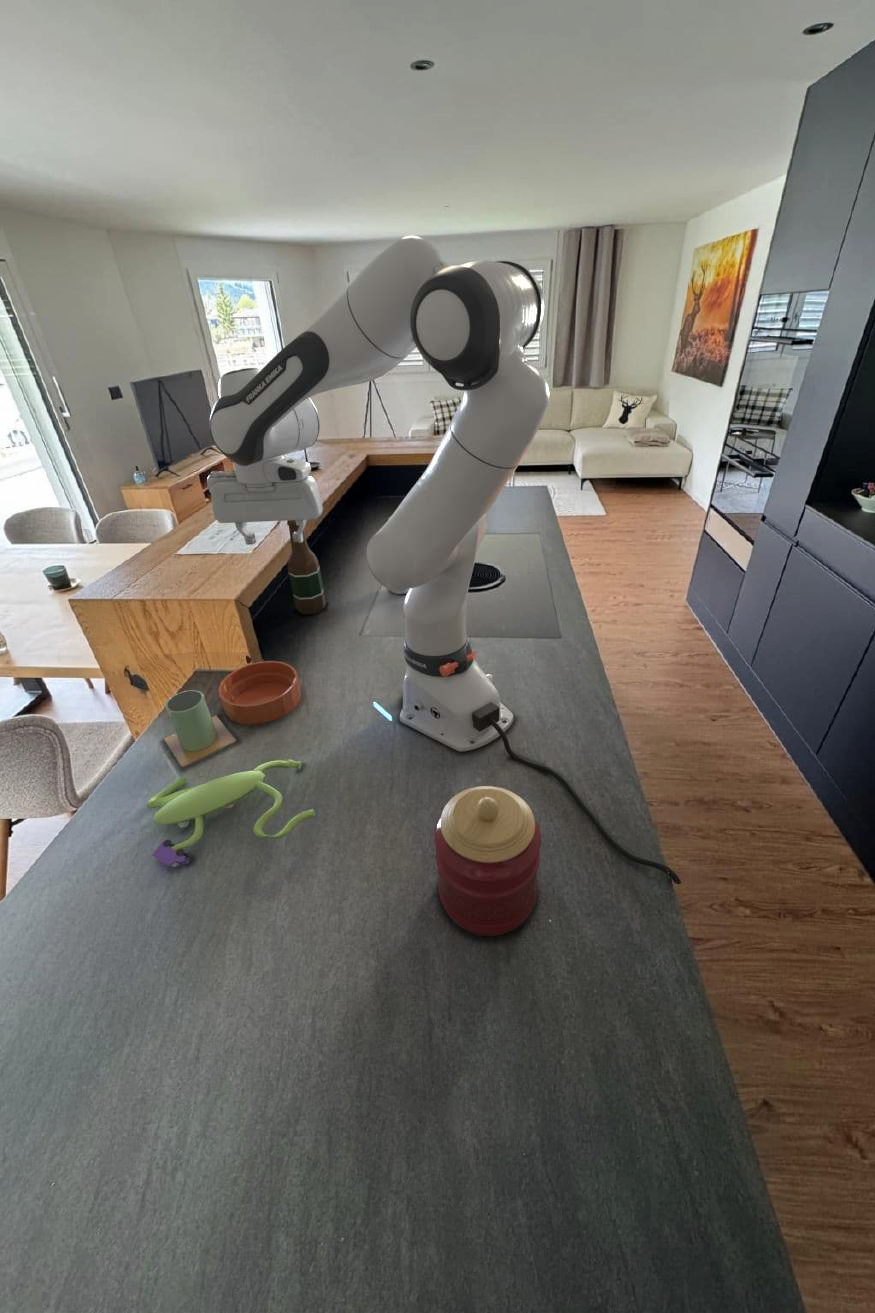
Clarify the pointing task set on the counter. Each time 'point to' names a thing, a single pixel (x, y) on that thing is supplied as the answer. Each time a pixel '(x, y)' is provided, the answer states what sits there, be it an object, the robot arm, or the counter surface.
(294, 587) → the beer bottle
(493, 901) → the kitchen canister
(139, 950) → the counter surface
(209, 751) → the coaster
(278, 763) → the figurine
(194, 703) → the cup
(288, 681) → the bowl
